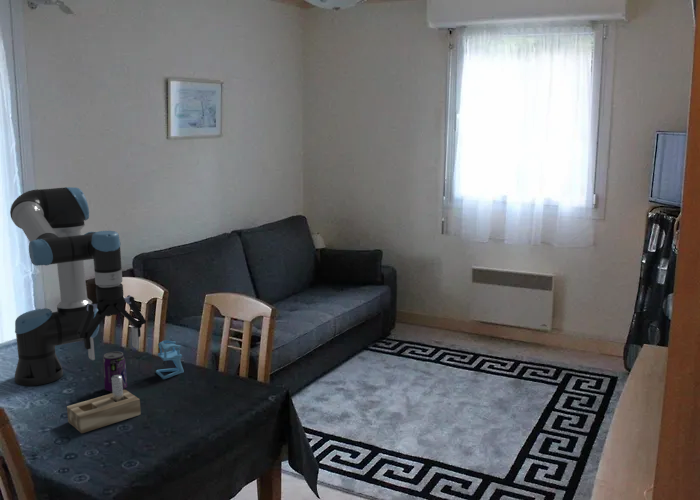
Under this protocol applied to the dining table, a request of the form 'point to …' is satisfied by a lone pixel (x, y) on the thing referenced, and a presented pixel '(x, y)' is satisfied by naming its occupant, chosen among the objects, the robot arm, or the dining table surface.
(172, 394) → the dining table surface
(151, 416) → the dining table surface
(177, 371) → the chair
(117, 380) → the pin
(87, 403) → the hole block
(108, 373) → the beverage can
